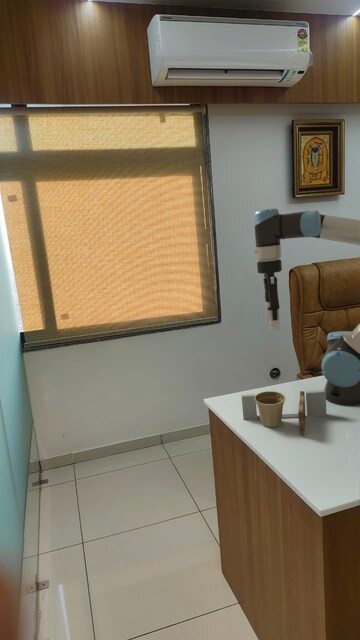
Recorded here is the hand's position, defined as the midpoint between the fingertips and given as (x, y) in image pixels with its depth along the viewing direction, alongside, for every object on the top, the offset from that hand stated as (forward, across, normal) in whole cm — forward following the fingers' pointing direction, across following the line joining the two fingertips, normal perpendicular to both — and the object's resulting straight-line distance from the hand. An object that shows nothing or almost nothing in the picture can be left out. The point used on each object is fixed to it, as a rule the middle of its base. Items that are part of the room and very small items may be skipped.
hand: (273, 325), depth 134 cm
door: (+28, +14, +6) cm, 32 cm away
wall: (+29, +7, +1) cm, 30 cm away
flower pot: (+29, +11, -3) cm, 31 cm away
